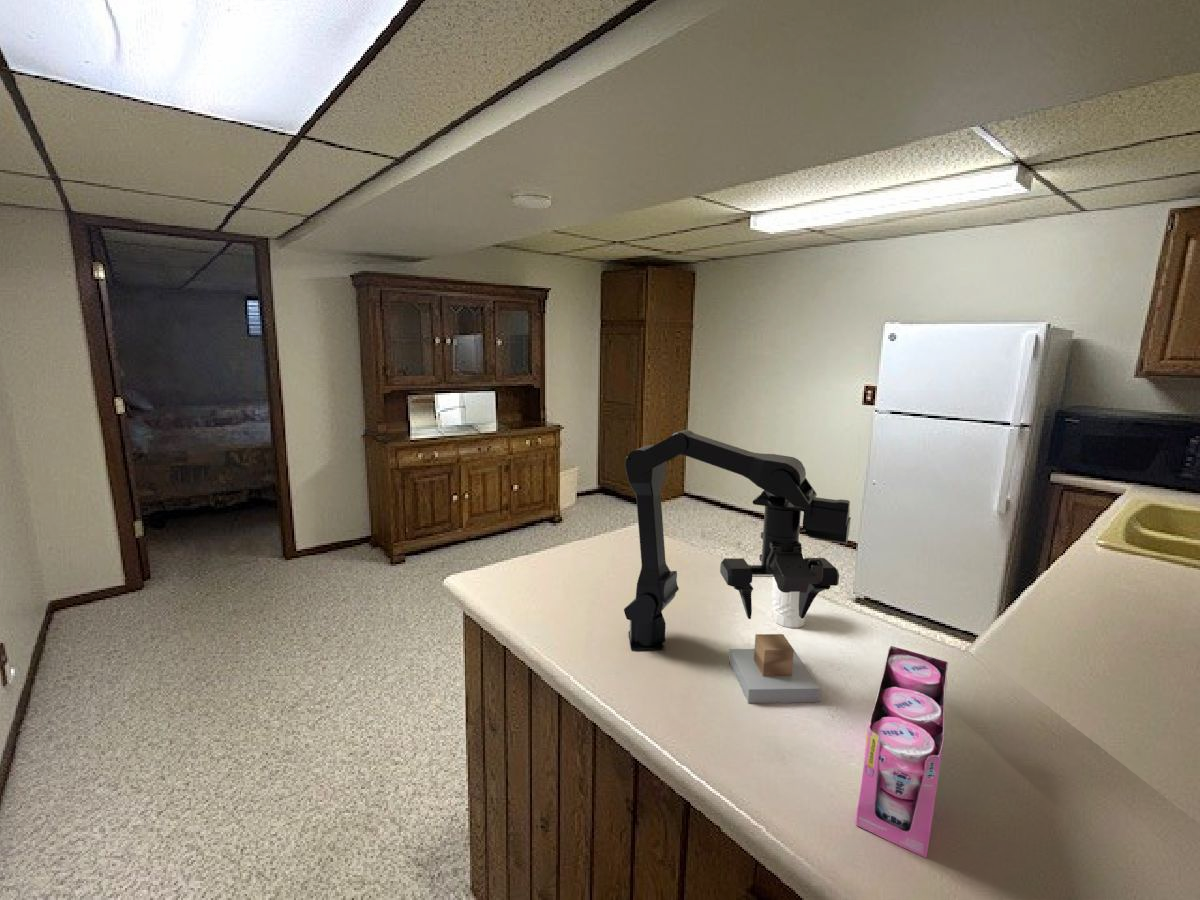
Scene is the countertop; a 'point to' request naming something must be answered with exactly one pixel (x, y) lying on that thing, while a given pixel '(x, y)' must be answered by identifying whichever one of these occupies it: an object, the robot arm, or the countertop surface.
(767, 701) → the slate tile
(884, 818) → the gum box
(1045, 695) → the countertop surface
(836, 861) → the countertop surface
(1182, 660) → the countertop surface
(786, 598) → the white cup
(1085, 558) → the countertop surface
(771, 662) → the walnut cube
